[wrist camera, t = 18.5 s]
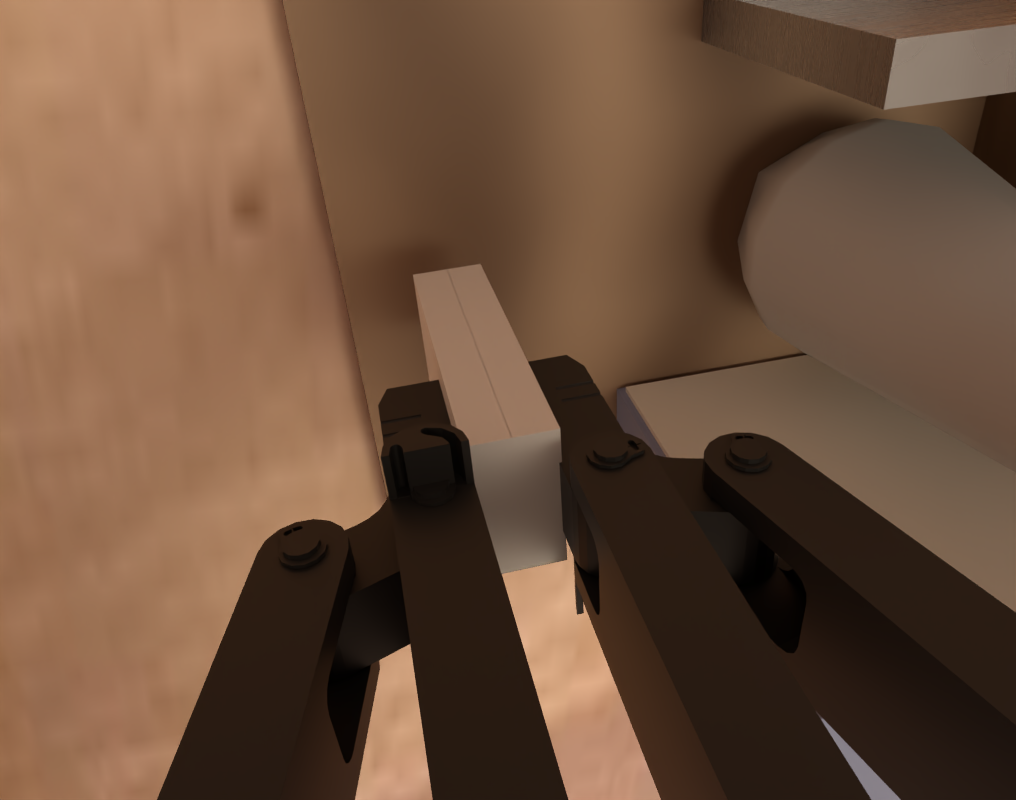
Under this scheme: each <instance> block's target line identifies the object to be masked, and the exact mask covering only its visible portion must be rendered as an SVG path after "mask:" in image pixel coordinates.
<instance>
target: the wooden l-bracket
mask: <svg viewBox="0 0 1016 800" xmlns="http://www.w3.org/2000/svg"><path fill="white" fill-rule="evenodd" d="M282 1H283V6H284V11H285V15H286V20H287V25H288V30H289V34H290V39H291V44H292V49H293V53H294V58H295V63H296V68H297V72H298V77H299V82H300V87H301V91H302V96H303V101H304V106H305V110H306V115H307V120H308V125H309V129H310V134H311V139H312V144H313V148H314V153H315V158H316V163H317V167H318V172H319V177H320V181H321V186H322V191H323V196H324V200H325V205H326V210H327V215H328V219H329V224H330V229H331V234H332V238H333V243H334V248H335V253H336V257H337V262H338V267H339V272H340V276H341V281H342V286H343V291H344V295H345V300H346V305H347V310H348V314H349V319H350V324H351V329H352V333H353V338H354V343H355V348H356V352H357V357H358V362H359V367H360V371H361V376H362V381H363V385H364V390H365V395H366V400H367V404H368V409H369V414H370V419H371V423H372V428H373V433H374V438H375V442H376V447H377V452H378V457H379V461H380V466H381V471H382V476H383V480H384V485H385V490H386V495H387V497H388V490H387V485H386V480H385V476H384V471H383V466H382V461H381V452H382V447H383V445H384V444H383V436H382V430H381V422H380V416H379V409H378V404H379V403H380V401H381V399H382V397H383V395H384V393H385V391H386V390H387V389H389V388H395V387H400V386H406V385H411V384H417V383H423V382H428V381H429V374H428V368H427V362H426V355H425V349H424V342H423V336H422V330H421V323H420V317H419V311H418V304H417V298H416V292H415V285H414V279H413V275H414V274H420V273H427V272H433V271H439V270H445V269H451V268H458V267H464V266H470V265H476V264H481V266H482V268H483V270H484V272H485V274H486V276H487V279H488V281H489V283H490V285H491V287H492V289H493V291H494V293H495V295H496V297H497V299H498V301H499V303H500V305H501V307H502V309H503V312H504V314H505V316H506V318H507V320H508V322H509V324H510V326H511V328H512V330H513V332H514V334H515V336H516V338H517V340H518V342H519V345H520V347H521V349H522V351H523V353H524V355H525V357H526V359H527V361H528V362H529V361H535V360H540V359H546V358H551V357H557V356H562V355H568V356H569V357H571V358H572V359H574V360H576V361H577V362H579V363H581V364H582V365H584V366H585V368H586V369H587V371H588V373H589V374H590V376H591V378H592V379H593V382H594V383H595V384H596V386H597V388H598V389H599V391H600V394H601V395H602V396H603V397H604V399H605V401H606V402H607V404H608V406H609V407H610V409H611V411H612V412H613V414H614V416H615V417H616V419H617V389H619V388H625V387H628V386H634V385H639V384H645V383H651V382H656V381H662V380H668V379H673V378H679V377H684V376H690V375H696V374H701V373H707V372H713V371H718V370H724V369H730V368H735V367H741V366H747V365H752V364H758V363H764V362H769V361H775V360H781V359H786V358H792V357H798V356H803V355H807V354H805V353H804V352H802V351H800V350H799V349H797V348H796V347H794V346H793V345H791V344H790V343H788V342H787V341H785V340H784V339H782V338H780V337H779V336H777V335H776V334H774V333H773V332H771V331H770V330H768V329H767V327H766V326H765V324H764V323H763V321H762V320H761V319H760V317H759V314H758V312H757V310H756V307H755V305H754V303H753V300H752V298H751V296H750V293H749V291H748V289H747V287H746V284H745V282H744V279H743V273H742V267H741V260H740V254H739V247H738V237H739V234H740V231H741V228H742V224H743V221H744V218H745V215H746V211H747V208H748V205H749V202H750V198H751V195H752V192H753V189H754V185H755V182H756V179H757V176H758V173H759V172H760V171H762V170H763V169H765V168H766V167H768V166H770V165H771V164H773V163H775V162H776V161H778V160H779V159H781V158H783V157H784V156H786V155H787V154H789V153H791V152H792V151H794V150H796V149H797V148H799V147H800V146H802V145H804V144H805V143H807V142H809V141H810V140H812V139H813V138H815V137H817V136H818V135H820V134H821V133H823V132H827V131H830V130H834V129H837V128H841V127H844V126H848V125H852V124H855V123H859V122H862V121H866V120H869V119H873V118H879V119H889V120H896V121H902V122H909V123H916V124H922V125H929V126H936V127H940V128H941V129H942V130H944V131H945V132H946V133H947V134H949V135H950V136H951V137H952V138H954V139H955V140H956V141H957V142H959V143H960V144H961V145H962V146H963V147H965V148H966V149H967V150H968V151H970V152H971V153H972V154H973V155H975V156H976V157H977V158H978V159H980V160H981V161H982V162H983V163H985V164H986V165H987V166H988V167H989V168H991V169H992V170H993V171H994V172H996V173H997V174H998V175H999V176H1001V177H1002V178H1003V179H1004V180H1006V181H1007V182H1008V183H1009V184H1011V185H1012V186H1013V187H1014V188H1015V189H1016V92H1010V93H1002V94H995V95H988V96H980V97H973V98H966V99H959V100H951V101H944V102H937V103H929V104H922V105H915V106H908V107H900V108H893V109H886V110H883V109H880V108H878V107H875V106H872V105H870V104H867V103H864V102H862V101H859V100H856V99H854V98H851V97H848V96H846V95H843V94H840V93H838V92H835V91H832V90H830V89H827V88H824V87H822V86H819V85H816V84H814V83H811V82H808V81H806V80H803V79H800V78H798V77H795V76H792V75H790V74H787V73H784V72H782V71H779V70H776V69H774V68H771V67H768V66H766V65H763V64H760V63H758V62H755V61H752V60H750V59H747V58H744V57H742V56H739V55H736V54H734V53H731V52H728V51H726V50H723V49H720V48H718V47H715V46H712V45H710V44H707V43H704V42H702V41H701V35H702V17H703V0H282Z"/></svg>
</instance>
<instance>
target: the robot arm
mask: <svg viewBox="0 0 1016 800" xmlns="http://www.w3.org/2000/svg"><path fill="white" fill-rule="evenodd" d="M413 279H414V285H415V292H416V298H417V304H418V311H419V317H420V323H421V330H422V336H423V342H424V349H425V355H426V362H427V368H428V374H429V381H428V382H423V383H417V384H411V385H406V386H400V387H395V388H389V389H387V390H386V391H385V393H384V395H383V397H382V399H381V401H380V403H379V404H378V409H379V416H380V422H381V430H382V436H383V444H384V445H383V447H382V452H381V461H382V466H383V471H384V476H385V480H386V485H387V490H388V497H387V500H386V502H385V503H384V505H383V506H382V507H381V508H380V510H379V511H378V512H376V513H375V514H374V515H373V516H371V517H370V518H369V519H367V520H365V521H363V522H362V523H360V524H358V525H356V526H354V527H351V528H349V529H347V530H345V531H344V529H343V528H342V527H341V526H339V525H337V524H335V523H333V522H331V521H326V520H316V519H312V520H306V521H301V522H296V523H293V524H291V525H289V526H286V527H284V528H282V529H280V530H278V531H277V532H276V533H274V534H273V535H272V536H271V537H269V538H268V539H267V540H266V541H265V542H264V544H263V545H262V547H261V548H260V550H259V551H258V553H257V555H256V558H255V560H254V563H253V565H252V568H251V570H250V572H249V575H248V577H247V580H246V582H245V585H244V587H243V590H242V592H241V595H240V597H239V600H238V602H237V604H236V607H235V609H234V612H233V614H232V617H231V619H230V622H229V624H228V627H227V629H226V631H225V634H224V636H223V639H222V641H221V644H220V646H219V649H218V651H217V654H216V656H215V659H214V661H213V663H212V666H211V668H210V671H209V673H208V676H207V678H206V681H205V683H204V686H203V688H202V691H201V693H200V695H199V698H198V700H197V703H196V705H195V708H194V710H193V713H192V715H191V718H190V720H189V722H188V725H187V727H186V730H185V732H184V735H183V737H182V740H181V742H180V745H179V747H178V750H177V752H176V754H175V757H174V759H173V762H172V764H171V767H170V769H169V772H168V774H167V777H166V779H165V782H164V784H163V786H162V789H161V791H160V794H159V796H158V799H157V800H355V796H356V790H357V785H358V780H359V775H360V770H361V764H362V759H363V754H364V749H365V743H366V738H367V733H368V728H369V722H370V717H371V712H372V707H373V701H374V696H375V691H376V686H377V680H378V675H379V670H380V665H379V660H380V659H382V658H384V657H386V656H388V655H390V654H392V653H394V652H395V651H397V650H399V649H401V648H403V647H405V646H407V645H409V644H411V651H412V658H413V665H414V672H415V679H416V686H417V693H418V700H419V707H420V714H421V721H422V728H423V735H424V741H425V748H426V755H427V762H428V769H429V776H430V783H431V790H432V797H433V800H568V797H567V794H566V790H565V787H564V784H563V780H562V777H561V773H560V770H559V767H558V763H557V760H556V757H555V753H554V750H553V746H552V743H551V740H550V736H549V733H548V729H547V726H546V723H545V719H544V716H543V713H542V709H541V706H540V702H539V699H538V696H537V692H536V689H535V686H534V682H533V679H532V675H531V672H530V669H529V665H528V662H527V658H526V655H525V652H524V648H523V645H522V642H521V638H520V635H519V631H518V628H517V625H516V621H515V618H514V614H513V611H512V608H511V604H510V601H509V598H508V594H507V591H506V587H505V584H504V581H503V577H502V574H503V573H508V572H513V571H517V570H522V569H526V568H531V567H536V566H540V565H545V564H550V563H554V562H559V561H563V560H567V548H566V539H567V542H568V544H569V546H570V549H571V551H572V554H573V556H574V573H575V595H576V609H577V614H582V613H584V612H583V602H584V605H585V607H586V610H587V612H588V615H589V617H590V620H591V623H592V625H593V628H594V630H595V633H596V635H597V638H598V640H599V643H600V645H601V648H602V650H603V653H604V656H605V658H606V661H607V663H608V666H609V668H610V671H611V673H612V676H613V678H614V681H615V684H616V686H617V689H618V691H619V694H620V696H621V699H622V701H623V704H624V706H625V709H626V711H627V714H628V717H629V719H630V722H631V724H632V727H633V729H634V732H635V734H636V737H637V739H638V742H639V745H640V747H641V750H642V752H643V755H644V757H645V760H646V762H647V765H648V767H649V770H650V773H651V775H652V778H653V780H654V783H655V785H656V788H657V790H658V793H659V795H660V798H661V800H871V798H870V797H869V795H868V793H867V792H866V790H865V789H864V787H863V785H862V784H861V782H860V781H859V779H858V777H857V776H856V774H855V773H854V771H853V769H852V768H851V766H850V765H849V763H848V762H847V760H846V758H845V757H844V755H843V754H842V752H841V750H840V749H839V747H838V746H837V744H836V742H835V741H834V739H833V738H832V736H831V734H830V733H829V731H828V730H827V728H826V727H825V725H824V723H823V722H822V720H821V719H820V717H819V715H820V716H821V717H822V718H823V719H824V720H825V721H826V722H827V723H828V724H829V725H830V726H831V727H832V729H833V730H834V731H835V732H836V733H837V734H838V735H839V736H840V737H841V738H842V739H843V740H844V741H845V742H846V743H847V744H848V745H849V746H850V747H851V748H852V749H853V750H854V751H855V753H856V754H857V755H858V756H859V757H860V758H861V759H862V760H863V761H864V762H865V763H866V764H867V765H868V766H869V767H870V768H871V769H872V770H873V771H874V772H875V773H876V774H877V775H878V777H879V778H880V779H881V780H882V781H883V782H884V783H885V784H886V785H887V786H888V787H889V788H890V789H891V790H892V791H893V792H894V793H895V794H896V795H897V796H898V797H899V798H900V799H901V800H1016V612H1014V611H1013V610H1012V609H1010V608H1009V607H1008V606H1006V605H1005V604H1003V603H1002V602H1001V601H999V600H998V599H996V598H995V597H994V596H992V595H991V594H989V593H988V592H987V591H985V590H984V589H983V588H981V587H980V586H978V585H977V584H976V583H974V582H973V581H971V580H970V579H969V578H967V577H966V576H964V575H963V574H962V573H960V572H959V571H958V570H956V569H955V568H953V567H952V566H951V565H949V564H948V563H946V562H945V561H944V560H942V559H941V558H939V557H938V556H937V555H935V554H934V553H933V552H931V551H930V550H928V549H927V548H926V547H924V546H923V545H921V544H920V543H919V542H917V541H916V540H914V539H913V538H912V537H910V536H909V535H908V534H906V533H905V532H903V531H902V530H901V529H899V528H898V527H896V526H895V525H894V524H892V523H891V522H890V521H888V520H887V519H885V518H884V517H883V516H881V515H880V514H878V513H877V512H876V511H874V510H873V509H871V508H870V507H869V506H867V505H866V504H865V503H863V502H862V501H860V500H859V499H858V498H856V497H855V496H853V495H852V494H851V493H849V492H848V491H846V490H845V489H844V488H842V487H841V486H840V485H838V484H837V483H835V482H834V481H833V480H831V479H830V478H828V477H827V476H826V475H824V474H823V473H821V472H820V471H819V470H817V469H816V468H815V467H813V466H812V465H810V464H809V463H808V462H806V461H805V460H803V459H802V458H801V457H799V456H798V455H796V454H795V453H794V452H792V451H791V450H790V449H788V448H787V447H785V446H784V445H783V444H781V443H779V442H777V441H775V440H773V439H771V438H769V437H767V436H763V435H759V434H755V433H738V432H735V433H730V434H726V435H722V436H719V437H717V438H716V439H714V440H712V441H711V442H709V444H708V446H707V447H706V449H705V451H704V459H702V458H671V457H663V456H659V455H655V454H654V453H653V451H652V450H651V448H650V447H649V446H648V445H647V444H646V443H645V442H644V441H643V440H642V439H640V438H638V437H635V436H633V435H631V434H628V433H625V432H624V431H623V429H622V427H621V426H620V424H619V422H618V421H617V419H616V417H615V416H614V414H613V412H612V411H611V409H610V407H609V406H608V404H607V402H606V401H605V399H604V397H603V396H602V395H601V394H600V391H599V389H598V388H597V386H596V384H595V383H594V382H593V379H592V378H591V376H590V374H589V373H588V371H587V369H586V368H585V366H584V365H582V364H581V363H579V362H577V361H576V360H574V359H572V358H571V357H569V356H568V355H562V356H557V357H551V358H546V359H540V360H535V361H529V362H528V361H527V359H526V357H525V355H524V353H523V351H522V349H521V347H520V345H519V342H518V340H517V338H516V336H515V334H514V332H513V330H512V328H511V326H510V324H509V322H508V320H507V318H506V316H505V314H504V312H503V309H502V307H501V305H500V303H499V301H498V299H497V297H496V295H495V293H494V291H493V289H492V287H491V285H490V283H489V281H488V279H487V276H486V274H485V272H484V270H483V268H482V266H481V264H476V265H470V266H464V267H458V268H451V269H445V270H439V271H433V272H427V273H420V274H414V275H413ZM817 713H818V714H819V715H818V714H817Z"/></svg>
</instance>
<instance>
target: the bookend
mask: <svg viewBox="0 0 1016 800" xmlns="http://www.w3.org/2000/svg"><path fill="white" fill-rule="evenodd" d="M701 41H702V42H704V43H707V44H710V45H712V46H715V47H718V48H720V49H723V50H726V51H728V52H731V53H734V54H736V55H739V56H742V57H744V58H747V59H750V60H752V61H755V62H758V63H760V64H763V65H766V66H768V67H771V68H774V69H776V70H779V71H782V72H784V73H787V74H790V75H792V76H795V77H798V78H800V79H803V80H806V81H808V82H811V83H814V84H816V85H819V86H822V87H824V88H827V89H830V90H832V91H835V92H838V93H840V94H843V95H846V96H848V97H851V98H854V99H856V100H859V101H862V102H864V103H867V104H870V105H872V106H875V107H878V108H880V109H883V110H886V109H893V108H900V107H908V106H915V105H922V104H929V103H937V102H944V101H951V100H959V99H966V98H973V97H980V96H988V95H995V94H1002V93H1010V92H1016V0H703V17H702V35H701Z"/></svg>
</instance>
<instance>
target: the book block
mask: <svg viewBox="0 0 1016 800" xmlns="http://www.w3.org/2000/svg"><path fill="white" fill-rule="evenodd" d="M617 421H618V422H619V424H620V426H621V427H622V429H623V431H624V432H625V433H628V434H631V435H633V436H635V437H638V438H640V439H642V440H643V441H644V442H645V443H646V444H647V445H648V446H649V447H650V448H651V450H652V451H653V453H654V454H655V455H659V456H663V457H671V458H702V459H704V451H705V449H706V447H707V446H708V444H709V442H711V441H712V440H714V439H716V438H717V437H719V436H722V435H726V434H730V433H735V432H738V433H755V434H759V435H763V436H767V437H769V438H771V439H773V440H775V441H777V442H779V443H781V444H783V445H784V446H785V447H787V448H788V449H790V450H791V451H792V452H794V453H795V454H796V455H798V456H799V457H801V458H802V459H803V460H805V461H806V462H808V463H809V464H810V465H812V466H813V467H815V468H816V469H817V470H819V471H820V472H821V473H823V474H824V475H826V476H827V477H828V478H830V479H831V480H833V481H834V482H835V483H837V484H838V485H840V486H841V487H842V488H844V489H845V490H846V491H848V492H849V493H851V494H852V495H853V496H855V497H856V498H858V499H859V500H860V501H862V502H863V503H865V504H866V505H867V506H869V507H870V508H871V509H873V510H874V511H876V512H877V513H878V514H880V515H881V516H883V517H884V518H885V519H887V520H888V521H890V522H891V523H892V524H894V525H895V526H896V527H898V528H899V529H901V530H902V531H903V532H905V533H906V534H908V535H909V536H910V537H912V538H913V539H914V540H916V541H917V542H919V543H920V544H921V545H923V546H924V547H926V548H927V549H928V550H930V551H931V552H933V553H934V554H935V555H937V556H938V557H939V558H941V559H942V560H944V561H945V562H946V563H948V564H949V565H951V566H952V567H953V568H955V569H956V570H958V571H959V572H960V573H962V574H963V575H964V576H966V577H967V578H969V579H970V580H971V581H973V582H974V583H976V584H977V585H978V586H980V587H981V588H983V589H984V590H985V591H987V592H988V593H989V594H991V595H992V596H994V597H995V598H996V599H998V600H999V601H1001V602H1002V603H1003V604H1005V605H1006V606H1008V607H1009V608H1010V609H1012V610H1013V611H1014V612H1016V472H1014V471H1012V470H1011V469H1009V468H1007V467H1005V466H1003V465H1002V464H1000V463H998V462H996V461H995V460H993V459H991V458H989V457H988V456H986V455H984V454H982V453H980V452H979V451H977V450H975V449H973V448H972V447H970V446H968V445H966V444H965V443H963V442H961V441H959V440H957V439H956V438H954V437H952V436H950V435H949V434H947V433H945V432H943V431H942V430H940V429H938V428H936V427H935V426H933V425H931V424H929V423H927V422H926V421H924V420H922V419H920V418H919V417H917V416H915V415H913V414H912V413H910V412H908V411H906V410H904V409H903V408H901V407H899V406H897V405H896V404H894V403H892V402H890V401H889V400H887V399H885V398H883V397H881V396H880V395H878V394H876V393H874V392H873V391H871V390H869V389H867V388H866V387H864V386H862V385H860V384H859V383H857V382H855V381H853V380H851V379H850V378H848V377H846V376H844V375H843V374H841V373H839V372H837V371H836V370H834V369H832V368H830V367H828V366H827V365H825V364H823V363H821V362H820V361H818V360H816V359H814V358H813V357H811V356H809V355H803V356H798V357H792V358H786V359H781V360H775V361H769V362H764V363H758V364H752V365H747V366H741V367H735V368H730V369H724V370H718V371H713V372H707V373H701V374H696V375H690V376H684V377H679V378H673V379H668V380H662V381H656V382H651V383H645V384H639V385H634V386H628V387H625V388H619V389H617ZM817 714H818V713H817ZM818 715H819V714H818ZM819 717H820V719H821V720H822V722H823V723H824V725H825V727H826V728H827V730H828V731H829V733H830V734H831V736H832V738H833V739H834V741H835V742H836V744H837V746H838V747H839V749H840V750H841V752H842V754H843V755H844V757H845V758H846V760H847V762H848V763H849V765H850V766H851V768H852V769H853V771H854V773H855V774H856V776H857V777H858V779H859V781H860V782H861V784H862V785H863V787H864V789H865V790H866V792H867V793H868V795H869V797H870V798H871V800H901V799H900V798H899V797H898V796H897V795H896V794H895V793H894V792H893V791H892V790H891V789H890V788H889V787H888V786H887V785H886V784H885V783H884V782H883V781H882V780H881V779H880V778H879V777H878V775H877V774H876V773H875V772H874V771H873V770H872V769H871V768H870V767H869V766H868V765H867V764H866V763H865V762H864V761H863V760H862V759H861V758H860V757H859V756H858V755H857V754H856V753H855V751H854V750H853V749H852V748H851V747H850V746H849V745H848V744H847V743H846V742H845V741H844V740H843V739H842V738H841V737H840V736H839V735H838V734H837V733H836V732H835V731H834V730H833V729H832V727H831V726H830V725H829V724H828V723H827V722H826V721H825V720H824V719H823V718H822V717H821V716H820V715H819Z"/></svg>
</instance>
